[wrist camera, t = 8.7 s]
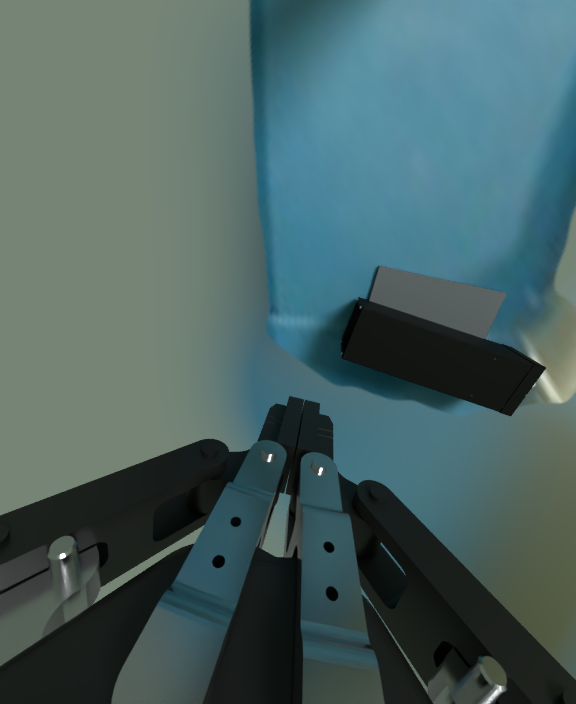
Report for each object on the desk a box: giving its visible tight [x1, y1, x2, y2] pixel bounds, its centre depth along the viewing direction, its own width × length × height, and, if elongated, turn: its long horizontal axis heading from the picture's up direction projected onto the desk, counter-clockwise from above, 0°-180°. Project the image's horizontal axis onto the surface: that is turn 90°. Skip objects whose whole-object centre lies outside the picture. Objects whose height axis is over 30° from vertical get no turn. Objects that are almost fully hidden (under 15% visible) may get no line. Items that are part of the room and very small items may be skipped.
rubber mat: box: [369, 266, 507, 339], centre depth 45 cm, size 12×18×1 cm, turn 79°
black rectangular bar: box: [340, 297, 546, 416], centre depth 42 cm, size 8×8×28 cm
